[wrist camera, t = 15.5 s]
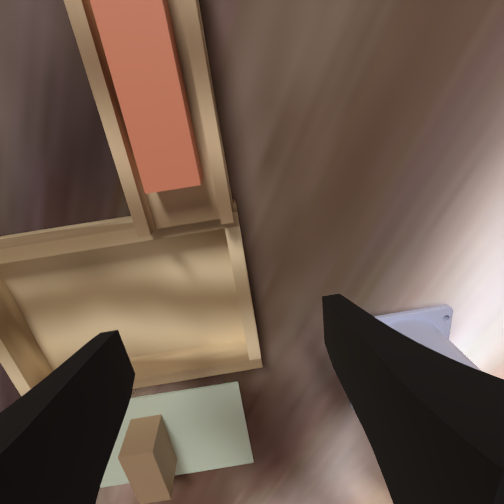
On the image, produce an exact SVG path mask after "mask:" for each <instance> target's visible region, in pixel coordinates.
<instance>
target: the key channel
mask: <svg viewBox="0 0 504 504" xmlns="http://www.w3.org/2000/svg"><path fill="white" fill-rule="evenodd" d="M167 1H168V6H169V11H170V16H171V21H172V26H173V31H174V36H175V41H176V46H177V51H178V56H179V61H180V66H181V70H182V75H183V80H184V85H185V90H186V95H187V100H188V105H189V110H190V115H191V120H192V125H193V130H194V135H195V140H196V144H197V149H198V154H199V159H200V164H201V169H202V174H203V181H202V184H201V185H199V186H192V187H186V188H179V189H173V190H167V191H160V192H154V193H147V194H145V192H144V188H143V185H142V181H141V178H140V174H139V171H138V167H137V164H136V160H135V157H134V153H133V150H132V146H131V143H130V139H129V136H128V132H127V129H126V125H125V122H124V118H123V115H122V111H121V108H120V104H119V101H118V97H117V94H116V90H115V87H114V83H113V80H112V76H111V73H110V69H109V66H108V62H107V59H106V55H105V52H104V48H103V45H102V41H101V38H100V34H99V31H98V27H97V24H96V20H95V17H94V13H93V10H92V6H91V3H90V0H64V3H65V6H66V9H67V12H68V15H69V18H70V22H71V25H72V28H73V31H74V34H75V38H76V41H77V44H78V47H79V50H80V54H81V57H82V60H83V63H84V66H85V69H86V73H87V76H88V79H89V82H90V85H91V89H92V92H93V95H94V98H95V101H96V105H97V108H98V111H99V114H100V117H101V121H102V124H103V127H104V130H105V133H106V136H107V140H108V143H109V146H110V149H111V152H112V156H113V159H114V162H115V165H116V168H117V172H118V175H119V178H120V181H121V184H122V187H123V191H124V194H125V197H126V200H127V203H128V207H129V210H130V213H131V216H132V219H133V223H134V226H135V229H136V232H137V235H138V238H139V237H146V236H151V235H152V233H153V232H154V230H155V229H159V228H165V227H172V226H178V225H184V224H191V223H197V222H203V221H210V220H216V219H220V220H221V225H222V224H228V223H234V218H233V202H232V195H231V189H230V183H229V177H228V171H227V165H226V159H225V154H224V148H223V142H222V136H221V130H220V124H219V118H218V112H217V106H216V100H215V95H214V89H213V83H212V77H211V71H210V65H209V59H208V53H207V47H206V41H205V35H204V30H203V24H202V18H201V12H200V6H199V0H167Z"/></svg>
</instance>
